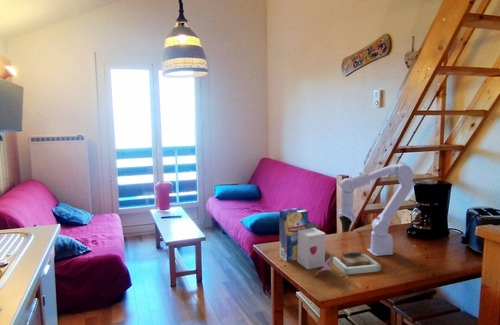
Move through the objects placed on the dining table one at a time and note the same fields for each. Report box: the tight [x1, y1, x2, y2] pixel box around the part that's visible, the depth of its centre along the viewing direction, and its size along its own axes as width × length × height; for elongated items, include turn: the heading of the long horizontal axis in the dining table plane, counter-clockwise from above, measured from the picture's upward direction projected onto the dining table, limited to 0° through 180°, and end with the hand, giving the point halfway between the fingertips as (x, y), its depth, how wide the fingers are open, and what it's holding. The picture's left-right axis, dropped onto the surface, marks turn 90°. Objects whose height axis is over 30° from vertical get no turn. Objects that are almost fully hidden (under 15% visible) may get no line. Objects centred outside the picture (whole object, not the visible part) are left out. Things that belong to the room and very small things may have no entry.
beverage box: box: [278, 207, 309, 263], centre depth 168 cm, size 7×11×22 cm, turn 115°
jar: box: [308, 222, 320, 230], centre depth 177 cm, size 9×8×12 cm
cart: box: [339, 251, 371, 267], centre depth 158 cm, size 11×7×6 cm, turn 102°
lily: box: [316, 253, 337, 279], centre depth 149 cm, size 12×12×10 cm
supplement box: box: [296, 228, 327, 270], centre depth 160 cm, size 9×9×15 cm
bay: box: [332, 253, 382, 276], centre depth 158 cm, size 16×12×2 cm
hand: (345, 231), depth 175 cm, fingers closed
